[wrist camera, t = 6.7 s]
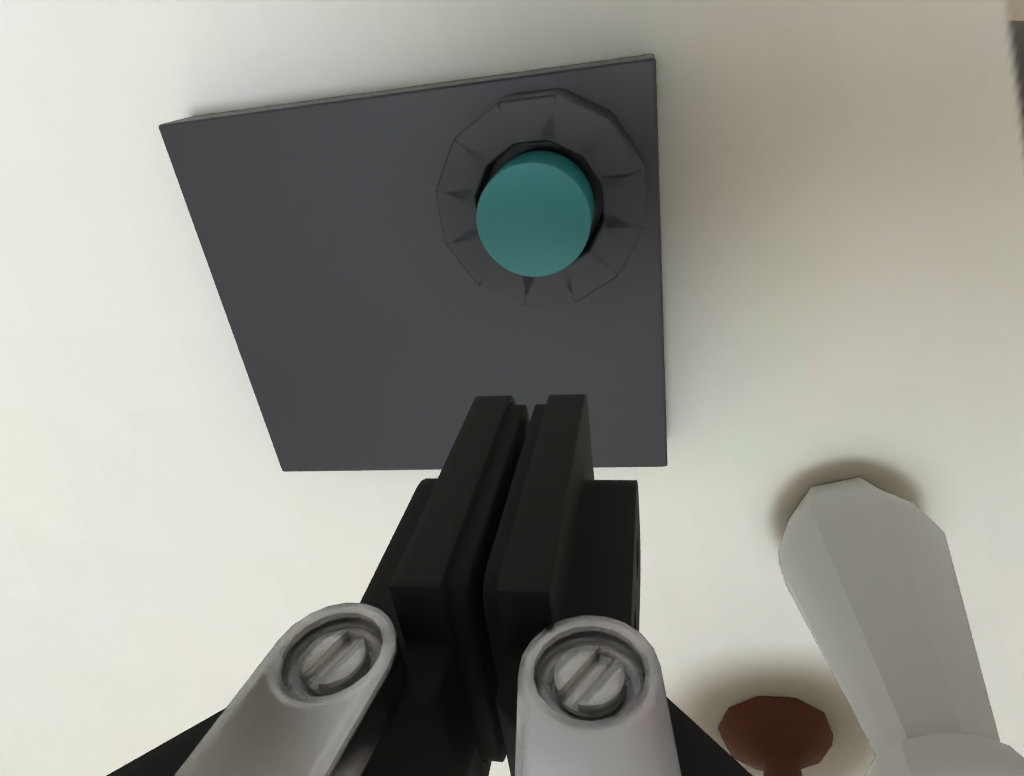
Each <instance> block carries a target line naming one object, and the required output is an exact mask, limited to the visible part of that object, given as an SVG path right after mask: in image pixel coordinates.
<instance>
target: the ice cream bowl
mask: <svg viewBox="0 0 1024 776" xmlns="http://www.w3.org/2000/svg"><path fill="white" fill-rule="evenodd" d="M718 730H719V732H720V734H721V736H722V739H723V741H724V742H725V744H726V746H727V748H728V750H729V752H730V754H731V756H732V757H733V758H734V759H736V760H739V761H741V762H743V763H745V764H747V765H749V766H751V767H753V768H755V769H757V770H760V771H763V773H764V776H802V773H801V769H803V768H806V767H809V766H812V765H815V764H818V763H820V761H821V760H822V758H823V757H824V756H825V754H826V753H827V751H828V750H829V749H830V747H831V746H832V742H833V733H832V731H831V728H830V726H829V723H828V721H827V719H826V716H825V714H824V713H823V712H821V711H819V710H817V709H815V708H813V707H811V706H809V705H807V704H805V703H804V702H802V701H800V700H798V699H796V698H779V697H756V698H753V699H751V700H748V701H746V702H743V703H741V704H738V705H736V706H733V707H731V708H729V709H728V711H727V712H726V714H725V716H724V718H723V720H722V722H721V723H720V725H719V727H718Z"/></svg>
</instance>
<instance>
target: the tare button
mask: <svg viewBox="0 0 1024 776" xmlns="http://www.w3.org/2000/svg"><path fill="white" fill-rule="evenodd" d="M593 215H594V196H593V192H592V188H591V185H590V183H589V181H588V179H587V177H586V176H585V174H584V173H583V171H582V170H581V169H580V168H579V167H578V166H577V165H576V164H575V163H574V162H572V161H571V160H570V159H568V158H566V157H565V156H563V155H560V154H558V153H555V152H551V151H543V150H537V151H529V152H525V153H522V154H519V155H517V156H515V157H513V158H512V159H510V160H509V161H508V162H506V163H505V164H504V165H503V166H502V167H501V168H500V170H499V171H498V172H497V173H496V174H495V176H494V177H493V178H492V179H491V180H490V181H489V183H488V184H487V185H486V187H485V188H484V190H483V192H482V194H481V196H480V199H479V202H478V206H477V212H476V222H477V229H478V234H479V237H480V239H481V242H482V244H483V246H484V248H485V249H486V251H487V252H488V253H489V255H490V256H491V257H492V258H493V259H494V260H495V261H496V262H497V263H498V264H500V265H501V266H502V267H504V268H505V269H507V270H509V271H511V272H514V273H516V274H519V275H524V276H530V277H541V276H547V275H551V274H554V273H557V272H559V271H561V270H563V269H565V268H566V267H568V266H569V265H570V264H572V263H573V262H574V261H575V260H576V259H577V258H578V256H579V255H580V254H581V252H582V251H583V249H584V247H585V245H586V243H587V240H588V237H589V234H590V229H591V225H592V220H593Z"/></svg>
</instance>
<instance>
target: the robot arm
mask: <svg viewBox="0 0 1024 776" xmlns="http://www.w3.org/2000/svg"><path fill="white" fill-rule="evenodd" d="M639 612H640V519H639V497H638V483H637V480H594V472H593V460H592V448H591V436H590V423H589V411H588V401H587V396H586V394H560V395H549V397H548V399H547V403H546V404H536V405H535V407H534V410H533V413H532V417H531V420H530V421H529V413H528V409H527V406H526V405H525V404H523V405H516V403H515V400H514V397H513V396H512V395H508V396H476V397H475V399H474V401H473V403H472V405H471V407H470V410H469V412H468V414H467V416H466V418H465V420H464V423H463V425H462V427H461V429H460V431H459V434H458V436H457V438H456V440H455V442H454V444H453V447H452V449H451V451H450V453H449V455H448V458H447V460H446V462H445V464H444V466H443V468H442V471H441V473H440V475H439V477H438V479H424V480H422V481H421V482H420V484H419V485H418V487H417V488H416V490H415V492H414V494H413V497H412V499H411V501H410V503H409V505H408V507H407V509H406V511H405V513H404V515H403V517H402V519H401V521H400V523H399V525H398V527H397V529H396V531H395V533H394V535H393V537H392V539H391V541H390V543H389V545H388V547H387V549H386V551H385V553H384V555H383V557H382V559H381V561H380V563H379V565H378V567H377V570H376V572H375V574H374V576H373V578H372V580H371V582H370V584H369V586H368V588H367V590H366V592H365V594H364V596H363V598H362V600H361V602H360V603H343V604H338V605H332V606H328V607H325V608H323V609H321V610H318V611H316V612H314V613H311V614H309V615H308V616H306V617H305V618H303V619H302V620H300V621H299V622H297V623H296V624H294V625H293V626H292V627H291V628H290V629H289V630H288V631H287V632H286V633H285V634H284V635H283V636H282V637H281V638H280V639H279V640H278V641H277V643H276V644H275V645H274V647H273V648H272V649H271V650H270V652H269V653H268V654H267V656H266V657H265V658H264V660H263V661H262V662H261V663H260V665H259V666H258V667H257V669H256V670H255V671H254V673H253V674H252V675H251V676H250V678H249V679H248V680H247V682H246V683H245V684H244V686H243V687H242V688H241V689H240V691H239V692H238V693H237V695H236V696H235V697H234V699H233V700H232V701H231V702H230V704H229V705H228V706H227V708H225V709H223V710H221V711H220V712H218V713H216V714H214V715H213V716H211V717H209V718H207V719H206V720H204V721H202V722H200V723H199V724H197V725H195V726H193V727H191V728H190V729H188V730H186V731H184V732H183V733H181V734H179V735H177V736H176V737H174V738H172V739H170V740H169V741H167V742H165V743H163V744H162V745H160V746H158V747H156V748H154V749H153V750H151V751H149V752H147V753H146V754H144V755H142V756H140V757H139V758H137V759H135V760H133V761H132V762H130V763H128V764H126V765H124V766H123V767H121V768H119V769H117V770H116V771H114V772H112V773H110V774H109V775H107V776H489V771H490V766H491V762H492V761H498V762H503V761H504V760H505V757H506V754H507V758H508V763H509V768H510V773H511V776H752V775H751V774H750V773H749V772H748V771H747V770H746V769H745V768H743V767H742V766H741V765H740V764H739V763H738V762H737V761H736V760H735V759H734V758H733V757H731V756H730V755H729V754H728V753H727V752H726V751H725V750H724V749H723V748H722V747H721V746H719V745H718V744H717V743H716V742H715V741H714V740H713V739H712V738H711V737H710V736H709V735H708V734H706V733H705V732H704V731H703V730H702V729H701V728H700V727H699V726H698V725H697V724H696V723H694V722H693V721H692V720H691V719H690V718H689V717H688V716H687V715H686V714H685V713H684V712H683V711H681V710H680V709H679V708H678V707H677V706H676V705H675V704H674V703H673V702H672V701H671V700H669V699H668V698H667V697H666V692H665V687H664V682H663V677H662V671H661V666H660V663H659V661H658V658H657V656H656V653H655V650H654V648H653V647H652V646H651V645H650V643H649V642H648V641H647V640H646V639H645V637H644V636H643V635H642V634H641V633H640V632H639Z"/></svg>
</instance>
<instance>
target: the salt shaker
mask: <svg viewBox="0 0 1024 776" xmlns="http://www.w3.org/2000/svg"><path fill="white" fill-rule="evenodd" d="M778 556H779V564H780V567H781V570H782V574H783V577H784V580H785V584H786V586H787V588H788V590H789V592H790V594H791V596H792V598H793V599H794V601H795V603H796V605H797V607H798V609H799V611H800V613H801V614H802V616H803V618H804V620H805V622H806V624H807V626H808V628H809V629H810V631H811V633H812V635H813V637H814V639H815V641H816V643H817V644H818V646H819V648H820V650H821V652H822V654H823V656H824V658H825V659H826V661H827V663H828V665H829V667H830V669H831V671H832V673H833V674H834V676H835V678H836V680H837V682H838V684H839V686H840V687H841V689H842V691H843V693H844V695H845V697H846V699H847V701H848V702H849V704H850V706H851V708H852V710H853V712H854V714H855V716H856V718H857V720H858V722H859V724H860V726H861V728H862V730H863V732H864V734H865V736H866V738H867V740H868V742H869V744H870V746H871V748H872V750H873V752H874V754H875V758H874V760H873V761H872V763H871V765H870V767H869V768H868V770H867V772H866V774H865V775H864V776H1024V758H1023V757H1022V756H1021V755H1020V754H1019V753H1017V752H1016V751H1015V750H1014V749H1013V748H1012V747H1011V746H1009V745H1006V744H1003V743H1000V739H999V735H998V732H997V728H996V724H995V720H994V717H993V713H992V709H991V705H990V702H989V698H988V694H987V690H986V687H985V683H984V679H983V675H982V672H981V668H980V664H979V660H978V657H977V653H976V649H975V645H974V642H973V638H972V634H971V630H970V626H969V623H968V619H967V615H966V611H965V608H964V604H963V600H962V596H961V593H960V589H959V585H958V581H957V578H956V574H955V570H954V566H953V563H952V559H951V555H950V551H949V548H948V544H947V540H946V536H945V533H944V532H943V531H942V530H941V529H940V528H939V527H938V526H937V524H936V523H935V522H933V521H932V520H931V519H930V518H929V517H928V516H927V515H926V514H925V513H924V512H923V511H922V510H921V509H920V508H919V507H918V506H917V505H916V504H914V503H912V502H910V501H907V500H905V499H903V498H900V497H898V496H896V495H893V494H891V493H888V492H886V491H884V490H881V489H879V488H877V487H875V486H874V485H872V484H870V483H869V482H867V481H865V480H864V479H862V478H860V477H858V478H853V479H848V480H843V481H838V482H833V483H828V484H823V485H818V486H813V487H810V489H809V490H808V492H807V493H806V495H805V496H804V498H803V499H802V501H801V502H800V504H799V505H798V507H797V508H796V509H795V511H794V512H793V514H792V515H791V517H790V518H789V520H788V523H787V526H786V529H785V533H784V536H783V539H782V542H781V545H780V548H779V551H778Z"/></svg>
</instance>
